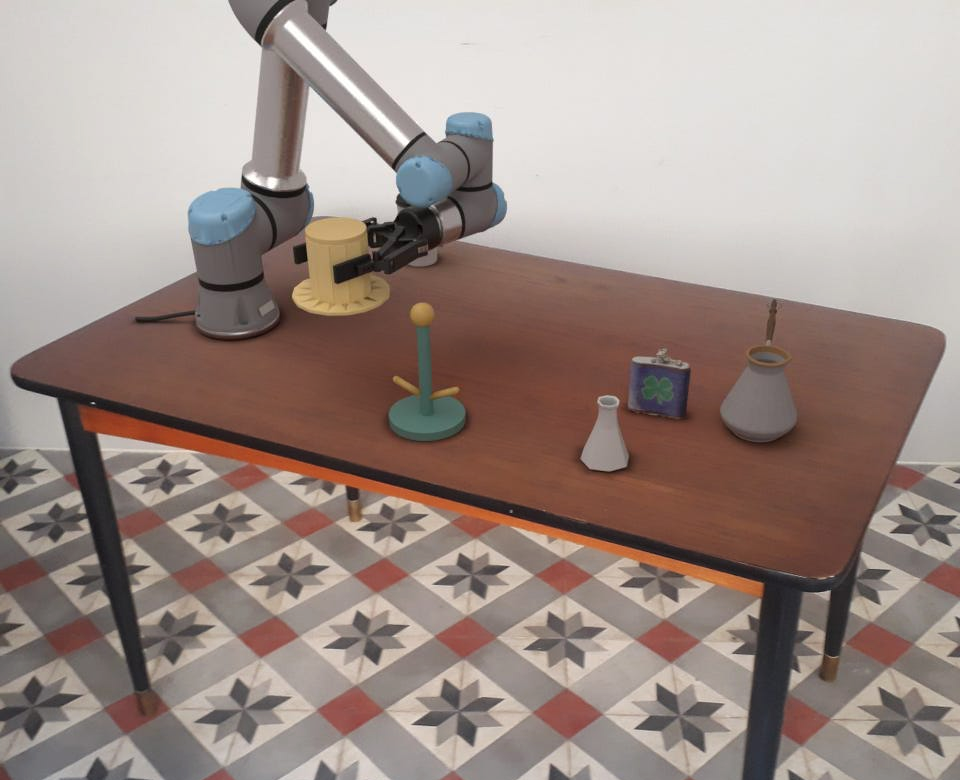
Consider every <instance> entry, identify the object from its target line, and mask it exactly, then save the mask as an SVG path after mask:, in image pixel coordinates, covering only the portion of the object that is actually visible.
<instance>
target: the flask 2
mask: <svg viewBox="0 0 960 780" xmlns="http://www.w3.org/2000/svg"><path fill="white" fill-rule="evenodd" d="M667 352H668V349H667V348H662V349H660V348H659V349H658V352H657V353H656V357H654V356H639V355H638V356H634V357H632V359H631V362H630V377H629V387H628V398H627V399H628V400H627V408H628V411H631V412H633V413H636V414H640V413H641V414H644V415H645V414H646V415H650V416H661V417H668V418H671V419H676V420H681V419H685V418H686V415H687V407H688V400H689V392H690V391H689V388H690V382H691V372H692V370H691V366H690V364H689V363H688V362H684V361H682V360H680V359H672V358H671V357H670V356H669V354H668V355H667V354H666V353H667Z"/></svg>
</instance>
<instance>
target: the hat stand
mask: <svg viewBox="0 0 960 780" xmlns="http://www.w3.org/2000/svg"><path fill="white" fill-rule="evenodd" d="M435 314H436V313H435V310H434V308H433V306H432V305H431V304H429V303H427V302H422V301H421V302H418V303H415V305H413V306H412V307H411V309H410V313H409V317H410V320H411V322H412V323H413V324H414V326H415V328H416V329H415V331H416V348H417V350H416V351H417V368H418V370H417V371H418V387H419V388H418V387H416V386H415V385H413V384H411V383H410V382H408V381H406V380H405V379H403V378H402V377H400V376H398V375H394V376H393V377H392V382H393V383H395V384H396V385H398V386H400V387H401V388H403V389H404V390H406V391H407V392H409V393H410V394H412V395H409V396H406V397H404V398H401V399H399V400H398V401H396V402H394V403H393V404H392V406H391V407H390V408H389V411H388V425H389V427H390V429H391V430H392V432H393V433H394V434H396V435H398V436H400V437H401V438H404V439H407V440H410V441H417V442H433V441H439V440H444V439H447V438H449V437H452V436H455V435H456V434H458V433H459V432H460V431H462V430H463V428H464V427H465V425H466V420H467V417H466V416H467V415H466V414H467V413H466V408H465V406H464V405H463V403H462V402H461V401H460V400H458V399H457V398H455V397H452V396H454V395H458V394H459V393H460V388H459V387H458V386H453V387H449V388H446V389H442V390H437V391H434V392H433V369H432V368H433V367H432V349H431V348H432V347H431V346H432V345H431V325H432V324H433V322H434V321H435V317H436V316H435Z"/></svg>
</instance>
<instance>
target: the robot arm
mask: <svg viewBox="0 0 960 780" xmlns="http://www.w3.org/2000/svg"><path fill="white" fill-rule="evenodd" d="M227 1H228V5H229V6H230V8H231V11H232V13H233V15H234V16H235V18H236V20H237V22H239V24H240V25H241V27H242V28H243V29H244V30H245V31H246V33H247V34H248V35H249V36H250V37H251V38H252V40H253V41H254V42H255V43H256V44H258V45H259V46H260V48H261V54H260V56H261V57H260V64H259V73H258V74H259V77H258V85H257V87H258V88H257V97H256V107H255V119H254V128H253V129H254V131H253V140H252V152H251V160H248V162H246V163H244V164H243V165H242V169H241V177H240V187H221V188H218V189H216V190H209V191H205V192H204V193H202V194H200V195H199V196H197V197H196V198H195V199H194V200H193V201H192V202H191V203H190V204H189V206H188V209H187V221H188V222H187V223H188V225H187V230H188V235H189V237H190V242H191V247H192V248H191V249H192V252H193V260H194V264H195V269H196V273H197V280H198V286H199V287H198V295H197V300H196V306H195V310H187V311H180V312H174V313H168V314H163V315H157V316H135V317H134V320H135V321H136V322H158V321H165V320H169V319H175V318H182V317H188V316H194V321H195V326H196V329H197V331H198V332H199V333H200V334H201V335H203V336H205V337H208V338H211V339H215V340H221V341H234V340H235V341H236V340H245V339H249V338H254V337H257V336H261V335H263V334H266V333H267V332H269V331H271V330H272V329H274V328H276V326H277V325H278V324H279V323H280V319H281V313H280V309H279V305H278V303H277V301H276V300H275V298H274V296H273V294H272V291H271V289H270V287H269V285H268V283H267V281H266V277H265V271H264V265H263V256H264V255H265V254H267V253H268V252H270V251H272V250H273V249H275V248H277V247H278V246H280V245H282V244H285V242H288V241H289V240H291V239H293V238H295V237H297V236H298V235H299V234H300V233H301V232H302V231H303V230H305V228H306V227H307V226H308V225H309V224H310V223H311V220H312V218H313V216H314V212H315V199H314V194H313V192H311V191H310V185H309V183H308V181H307V179H308V178H307V175H306V173H305V171H303V169H302V168H301V162H302V161H301V160H302V152H303V145H304V138H305V137H304V136H305V128H306V120H307V113H308V105H309V97H310V96H309V95H310V88H311V89H312V90H313V91H314V92H315V93H316V94H317V95H318V96H319V97H320V98H321V99H322V100H323V101H324V102H325V103H326V104H327V105H328V106H329V107H330V108H331V109H332V110H333V112H335V113H336V114H337V115H338V116H339V117H340V118H341V119H342V120H343V121H344V122H345V123H346V124H347V125H348V126H349V127H350V128H351V129H352V130H353V132H355V133H356V134H357V136H359V137H360V138H361V139H362V140H363V141H364V142H365V144H367V145H368V146H369V147H370V148H371V149H372V150H373V152H374V153H376V154H377V155H378V157H380V158H381V160H383V161H384V162H385V163H386V164H387V165H388V167H390V168H391V169H392V171H394V172H395V173H396V175H395V184H396V188H397V190H398V192H399V193H400V195H401V197H402V198H403V199H404V200H405V201H406V202H407V203H408V204H410V205H412V206H411V207H408V208H405V209H402V210H401V211H400V212H399V213H398V212H397V213H398V215H397V214H396V217H395V219H394V220H393V221H384V222H383V223H378V218H377V217H376V216H375V217H374V216H372V217H369V218H367V219H366V218H365V219H364V220H361V221H362V222H363V223H364V224H365V225H366V227H367V237H368V248H370V249H378V250H371V254H372V257H371V254H365V255H362V256H359V257H356V258H353V259H351V260H348V261H345V262H342V263H339V264H336V265H334V266H333V274H334V283H336V284H340V283H342V282H345V281H348V280H351V279H353V278H356V277H359V276H362V275H364V274H367V273H370V274H371V273H373V272H374V273H381V272H383V273H384V275H387V276H389V275H392V274H394V273H396V272H397V271H399V270H401V269H402V268H404V267H405V266H407V265H408V264H409V263H411V262H412V261H414V260H416V259H417V258H421V257H424V256H427V255H428V251H430V250H432V249H434V248H436V247H437V248H443V247H444V245H448V244H450V243H453V242H456V241H459V240H462V239H465V238H468V237H470V236H473V235H476V234H478V233H484V232H487V231H488V230H490V229H492V228H494V227H495V226H498V225H499V224H501V223H502V221H504V219H506V215H507V211H508V201H507V200H506V199H505V192H504V190H503V188H501V187H500V185H498V184H497V183H495V182H493V179H494V178H493V173H494V172H493V169H494V165H493V163H494V142H495V140H494V135H493V134H494V133H493V120H492V119H491V118H490V117H489V116H488V115H486V114H484V113H480V112H475V111H474V112H473V111H464V112H457V113H454V114H451V115H450V116H448V117H447V118H446V122H445V130H444V134H445V138H443V139H441V140H439V141H438V142H437V141H435V140H434V139H433V138H432V137H431V136H430V135H429V134H428V133H427V132H425V130H424V129H423V128H422V127H421V126H420V125H419V124H418V123H417V122H416V121H415V120H414V119H413V118H412V117H411V116H410V115H409V114H408V113H407V112H406V110H404V109H403V108H402V106H400V105H399V104H398V103H397V102H396V101H395V100H394V99H393V98H392V96H390V94H388V93H387V91H385V89H384V88H383V87H381V85H380V84H379V83H377V81H376V80H375V79H374V78H373V77H371V75H370V74H369V73H368V72H367V71H366V70H365V69H364V68H363V67H362V66H361V65H360V64H359V62H357V61H356V60H355V59H354V58H353V57H352V56H351V55H350V54H349V53H348V52H347V51H346V50H345V49H344V47H342V46H341V45H340V43H339V42H337V41H336V40H335V38H333V36H331V35H330V34H329V32H327V28H328V20H329V12H330V7H332V6H334V5H335V4H336V3H337V2H338V0H227ZM374 237H375V239H374ZM292 252H293V253H292V254H293V261H294V264H295V265H297V266H298V265H301V264H304V263H308V257H307V247H306V242H302V243H299V244H297V245H294V246H292Z"/></svg>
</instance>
